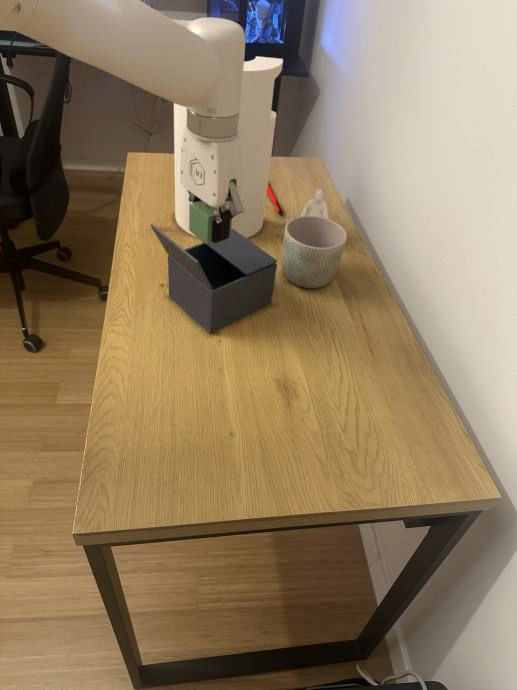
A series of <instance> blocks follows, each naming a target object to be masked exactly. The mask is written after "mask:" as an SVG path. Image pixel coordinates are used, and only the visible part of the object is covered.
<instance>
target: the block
mask: <svg viewBox="0 0 517 690" xmlns="http://www.w3.org/2000/svg"><path fill="white" fill-rule="evenodd" d="M224 211H226V209H225V205H224V206H221V212H222V213H223V212H224ZM214 220H216V219H215V213H214V208H213V207H211V206H210V205H208V204H207V203H205V202H204V201H202V200H200V201H197V202H194V203H190V204H189V231H190V232H192V233H193V234H194V235H196V236H197V237H196V236H195V237H196V238H197V239H199V240H200V241H201V242H202V241H203V242H205V243H206V244H210V243H212V227H213V221H214ZM231 225H232V219H230V231H229V236H231ZM194 235H193V236H194ZM203 242H202V243H203Z"/></svg>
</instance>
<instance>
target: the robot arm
mask: <svg viewBox="0 0 517 690" xmlns="http://www.w3.org/2000/svg"><path fill="white" fill-rule="evenodd" d="M0 25H2V26H4V27H7V28H8V29H10V30H12V31H14V32H16V33H19V34H21V35H23V36H25V37H28V38H30V39H32V40H34V41H36V42H39V43H40V44H43V45H45V46H47V47H49V48H51V49H54V50H56V51H57V52H58V53H61V54H63V55H65V56H67V57H70V58H71V59H75V60H77V61H79V62H82V63H85V64H86V65H87V64H88V65H89V66H92V67H95V68H97V69H100V70H102V71H103V72H106V73H109V74H110V75H112V76H115V77H116V78H119V79H120V80H123V81H125V82H127V83H129V84H131V85H134V86H136V87H137V88H140V89H142V90H144V91H146V92H149V93H151V94H153V95H155V96H157V97H160V98H162V99H165V100H166V101H168V102H171V103H173V104H174V103H175V104H178V105H180V106H184V107H187V123H186V124H185V128H184V133H183V138H182V147H181V164H180V179H181V183H182V185H183V186H184V187H185V188H186V189H187V190H188V193H189V202H190V203H194V202H197V201H200V200H202V201H204V202H205V203H207V204H208V205H210V206H211V207H213V208H214V213H215V219H216V220H214V221H213V227H212V242H214V243H218V242H220V241H223V240H225V239H228V238H229V231H230V219H232V218H233V217H234V216H236V215H238V214H240V213H243V212H244V208H243V205H242V202H241V200H240V197H239V196H240V190H241V172H242V165H241V145H240V138H239V137H238V136H239V126H240V111H241V97H242V83H243V68H244V62H245V52H246V51H245V50H246V34H245V30H244V28H243V27H242V26H241V25H240V24H239V23H237V22H235V21H234V20H231V19H227V18H222V17H211V16H210V17H200V18H196V19H193V20H186V19H174V18H170V17H169V16H167V15H165V14H163V13H162V12H160V11H159V10H157V9H155V8H153V7H151V6H149V5H148V4H146V3H144V2H143V1H141V0H0ZM224 205H225V209H226V211H224V212H223V213H222V212H221V206H224Z"/></svg>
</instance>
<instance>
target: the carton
mask: <svg viewBox="0 0 517 690" xmlns="http://www.w3.org/2000/svg"><path fill="white" fill-rule="evenodd" d="M183 249H184V250H185V251H186V252H188V253H189V254H190V255H191V256H192V257H194V258H195V259H196V260H197V261H198V262H199V263H200V265H201V267H202V269H203V271H204V273H205V275H206V277H207V279H208V281H209V283H210V284H211V286H212V288H213V289H212V290H210V289H209V288H208V287H207V286H205V285H204V284H203V283H202V282H201V281H199V280H198V279H197V278H196V277H195V276H194V275H192V274H191V273H190V272H189V271H188V270H186V269H185V268H184V267H183V266H182V265H180V264H179V263H178V262H177V261H176V260H175V259H173V258H172V257H171V256H170V255H169V254H167V272H168V297H169V298H170V299H171V300H172V301H173V302H174V303H175V304H176V305H177V306H178V307H180V308H181V310H183V311H184V312H185V313H186V314H187V315H188V316H189V317H190V318H191V319H193V320H194V321H195V322H196V323H197V324H198V325H199V326H200V327H201V328H202V329H203V330H205V331H206V332H207V333H208V334H209V335H211V334H214V333H216V332H218V331H220V330H222V329H224V328H226V327H228V326H230V325H232V324H234V323H237V322H238V321H240V320H242V319H244V318H246V317H249V316H250V315H252V314H254V313H256V312H258V311H261V310H263V309H265V308H267V307H268V306H271V305H272V302H273V301H272V300H273V295H274V294H273V293H274V287H275V280H276V274H277V268H278V264H277V263H278V260H277V259H276V258H274V257H273V256H272V255H270V254H269V253H268V252H266V251H265V250H264V249H262V248H261V247H259V246H258V245H256V244H255V243H254V242H253V241H251V240H250V239H248V238H245V237H244V236H242V235H241V234H239V233H238V232H237V231H235V230H234V229H231V236H229V238H228V239H225V240H223V241H220V242H218V243H214V242H212V243H210V244H206V243H205V242H203V241H202V240H201V243H197V244H196V245H193V246H189V247H188V248H183Z"/></svg>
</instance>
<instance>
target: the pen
mask: <svg viewBox="0 0 517 690" xmlns="http://www.w3.org/2000/svg"><path fill="white" fill-rule="evenodd" d="M267 193H268V194H269V196H270V199H271V201H272V202H273V205H274V207H275V209H276V211H277V213H278V214H279V215H280V216H281V217H283V211H282V208H281V206H280V204H279V202H278V200H277V199H276V196H275V194H274V193H273V191H272V188H271V187H270V185H269V183H268V187H267Z"/></svg>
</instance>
